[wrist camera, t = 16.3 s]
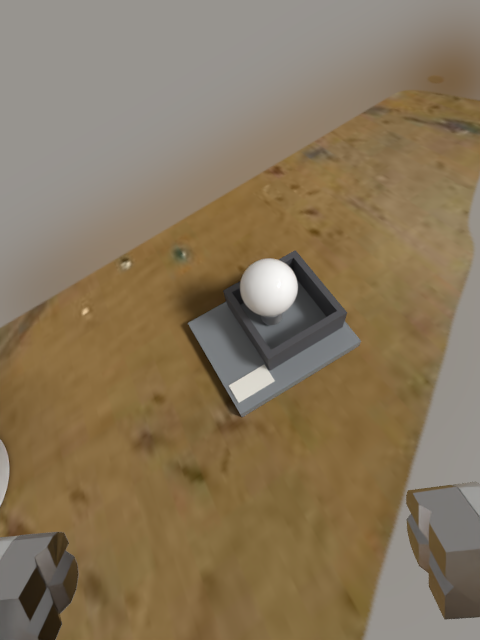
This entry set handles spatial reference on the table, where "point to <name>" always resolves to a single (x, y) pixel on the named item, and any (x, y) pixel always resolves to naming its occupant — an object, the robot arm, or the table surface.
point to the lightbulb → (269, 289)
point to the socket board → (274, 340)
